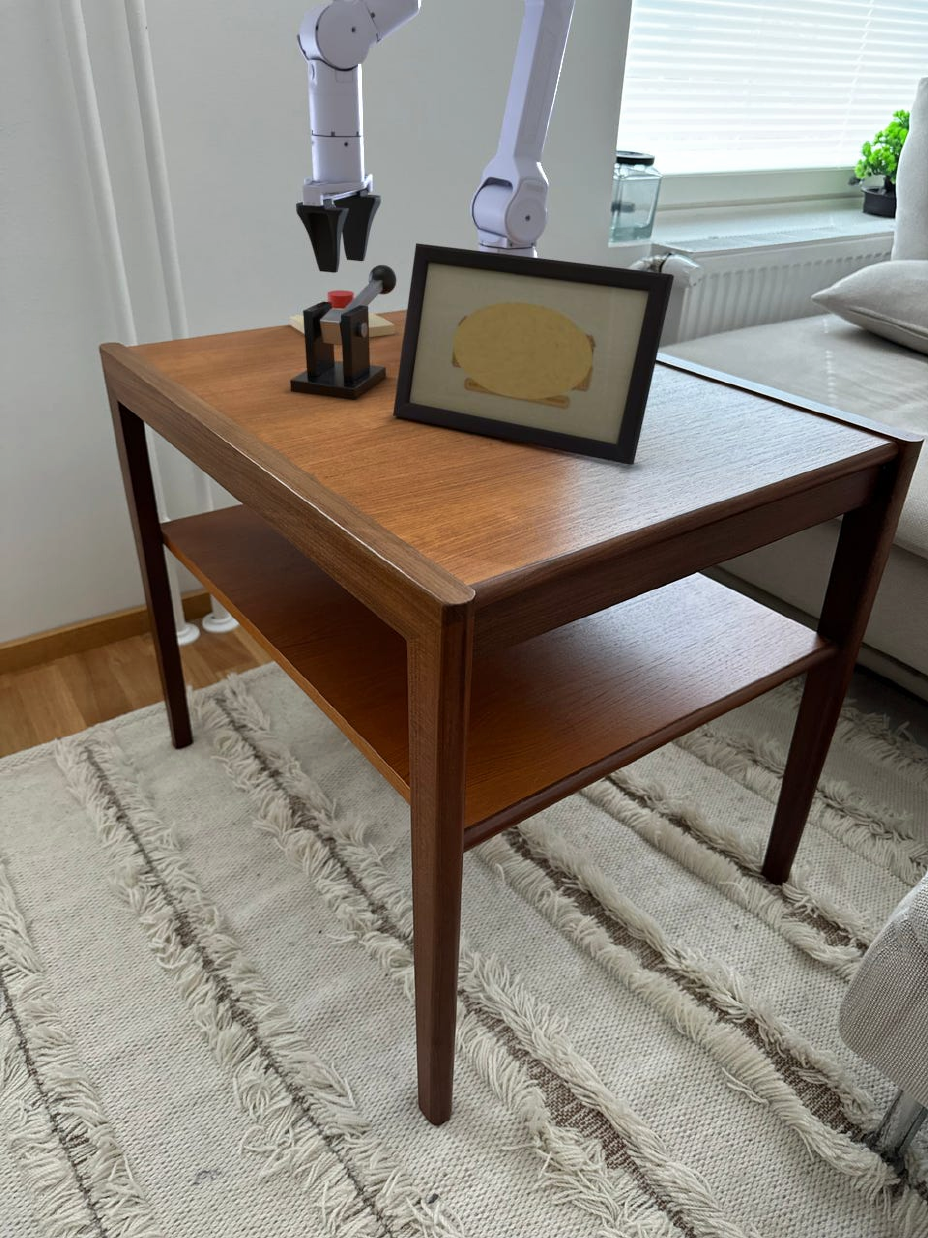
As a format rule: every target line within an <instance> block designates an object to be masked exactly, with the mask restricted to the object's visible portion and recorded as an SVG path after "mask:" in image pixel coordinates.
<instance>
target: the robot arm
mask: <svg viewBox="0 0 928 1238" xmlns="http://www.w3.org/2000/svg"><path fill="white" fill-rule="evenodd" d="M523 3H524V6H525V9H524V13H523V18H522V23H521V28H520V33H519V39H518V44H517V49H516V54H515V58H514V64H513V69H512V74H511V80H510V85H509V89H508V95H507V100H506V103H505V104H506V105H505V109H504V115H503V120H502V125H501V129H500V136H499V140H498V146H497V151H496V154H495V156H493V158H492V159H491V160H490V162H488V164H487V165H486V166H485V168H484V169H483V170H482V171H483V172H482V177H481V181H480V183H479V186H478V187H477V189H476V190H475V191H474V193H473V195H472V197H471V200H470V205H469V216H470V220H471V223H472V225H473V226H474V228H475V229H476V230H477V234H478V235H477V239H478V249H477V251H484V252H493V253H501V254H509V255H517V256H526V257H534V258H538V254H537V252H536V249H535V248H537V243H538V239H539V238H540V237H542V235H543V233H544V231H545V230H546V228H547V227H546V226H547V224H548V219H549V211H548V203H547V195H548V190H549V187H550V185H549V182H548V178H547V176H546V175H545V172H544V171H543V170H544V169H543V168H542V166H541V161H542V156H543V151H544V147H545V142H546V137H547V133H548V128H549V124H550V120H551V115H552V111H553V105H554V101H555V95H556V92H557V86H558V82H559V77H560V74H561V73H560V72H561V69H562V64H563V59H564V54H565V51H566V47H567V46H566V45H567V40H568V36H569V32H570V28H571V27H570V26H571V22H572V17H573V14H574V13H573V12H574V9H575V4H576V0H523ZM421 4H422V0H332V2H331V3H325V4H318V5H314V6H313V7H311V8H309V10H308V11H307V12H305V14H304V15H303V17H302V18H303V20H302V21H301V22H300V26H299V33H298V34H297V35H296V42H297V46H298V50H299V52H300V53H301V55H302V57H303V58H304V59H305V62H306V64H307V76H308V77H307V79H308V85H307V86H308V87H307V88H308V104H309V105H308V106H309V122H310V123H309V124H310V126H309V127H310V138H311V139H310V140H311V141H310V142H311V159H312V160H311V162H312V176H306V177H304V178H303V180H304V182H303V183H304V184H303V185H301V193H302V195H301V196H302V201H301V202H296V204H295V212H296V214H297V216H298V218H299V219H300V221H301V223H302V225H303V226H304V229H305V230H306V233H307V235H308V237H309V240H310V243H311V244H310V245H311V247H312V250H313V254H314V257H315V261H316V264H317V268H318V270H319V272H324V273H334V274H336V273H338V272H339V268H340V263H341V262H340V260H341V245H342V243H343V250H344V254H345V258H346V260H347V261H355V262H364V261H365V258H366V255H367V250H368V245H369V239H370V233H371V229H372V225H373V223H374V219H375V216H376V214H377V211H378V209H379V207H380V206H381V202H382V199H381V197H382V196H381V195H378V194H370V193H373V190H374V189H373V188H374V187H373V174H372V173H365V152H364V149H365V148H364V121H363V119H364V117H363V88H362V65H363V64H364V62H365V61H366V59H367V57H368V55H369V53H370V50H371V48H373V47H375V46H377V45H378V44H379V43H380V42H382V41H383V40H384V39H386V38H387V37H389V36H390V35H392V34H393V33H394V32H396V31H397V30H398V29H400V28H401V27H403V26H404V25H405V24H407V23H408V22H410V21H411V20H413V19H414V18H415V17H416V16H418V14H419V12H420V8H421Z"/></svg>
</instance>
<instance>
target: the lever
mask: <svg viewBox="0 0 928 1238" xmlns="http://www.w3.org/2000/svg"><path fill="white" fill-rule="evenodd" d="M396 285H397V275H396V272H395V271H394V269H393V268H392V267H390V266H388V265H387V264H386V265H385V264H378V265H376V266H374V267H373V268H372V269H371V270H370V272H369V274H368V284H367V285H366V286H365V287H364V288H363V289H361V290H360V292H359V293H358V294H357V295H356V296H354V299H353V300H352V301H351V302H350V303H349V304H348V305H347V306H346V307H345V308H344V310H338V309H330V310H329V311H328V312H327V313H326V314H325V315H324V316H323V317H322V318H321V319H320V327H321V334H322V340H323V343H326V344H334V346H335V345H336V346H342V331H341V315H342V314H344V313H345V312H347V311H349V310H351V309H353V308H355V307H357V306H359V305H362V306H368V307H369V305H370V304H371V303H372V302H373V301H374V300H375V298H377V297H378V295H388V294H390V293H391V292H393V291H394V289H395V288H396Z"/></svg>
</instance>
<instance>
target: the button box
mask: <svg viewBox="0 0 928 1238" xmlns="http://www.w3.org/2000/svg"><path fill="white" fill-rule="evenodd" d="M323 301H325V302H328V299H327V300H322V301H319V302H317V303H316V304H318V303H321V302H323ZM332 309H335V308H332ZM338 310H344V309H338ZM368 313H369V338H373V337H380V336H391V335H395V334H396V325H395V323H392V322H390V321H388V320H386V319H384V318H383V317H382V316H379V315H377V314H375V313H373V312H371V311H369V310H368ZM289 320H290V326H291V327H293V328H294V329H296V330H297V331H299V332H300V333H302V334H304V319H303V314H297V315H289Z"/></svg>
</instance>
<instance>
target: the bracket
mask: <svg viewBox="0 0 928 1238" xmlns="http://www.w3.org/2000/svg"><path fill="white" fill-rule="evenodd" d="M322 301H323V302H322ZM322 301H320V302H321V303H318V302H317V303H318V304H317V303H316V304H314V305H312V306H309V307H308V308H305V309H303V310H302V315H303V319H304V333H303V335H304V346H305V347H304V349H305V362H306V363H305V365H306V369H305V371H302V372H301V373H299V374H297V375H296V376H294V377H293V378H291V379H290V380H289V385H290V392H293V393H301V394H307V395H314V396H320V397H322V396H323V397H328V398H335V399H344V400H351V401H356V400H357V399H358V398H360V397H361V396H363V395H364V394H365V393H367V392H368V391H370V390H371V389H373V388H374V387H375V386H377V385H378V384H380V383H381V382H382V381H384V380H385V379H386V378H387V367H386V366H381V365H374V364H371V352H370V350H371V349H370V337H369V313H368V311H369V305H368V306H362V305H359V306H357V307H355V308H353V309H351V310H349V311H347V312H345V313H344V314H342V315H341V331H342V345H341V351H342V354H341V355H342V360H336V359H335V344H326V343H323V340H322V334H321V327H320V319H321V318H322V317H323V316H324V315H325V314H326V313H327V312H328V311H329V310H330V309H332V302H325V300H322Z"/></svg>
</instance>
